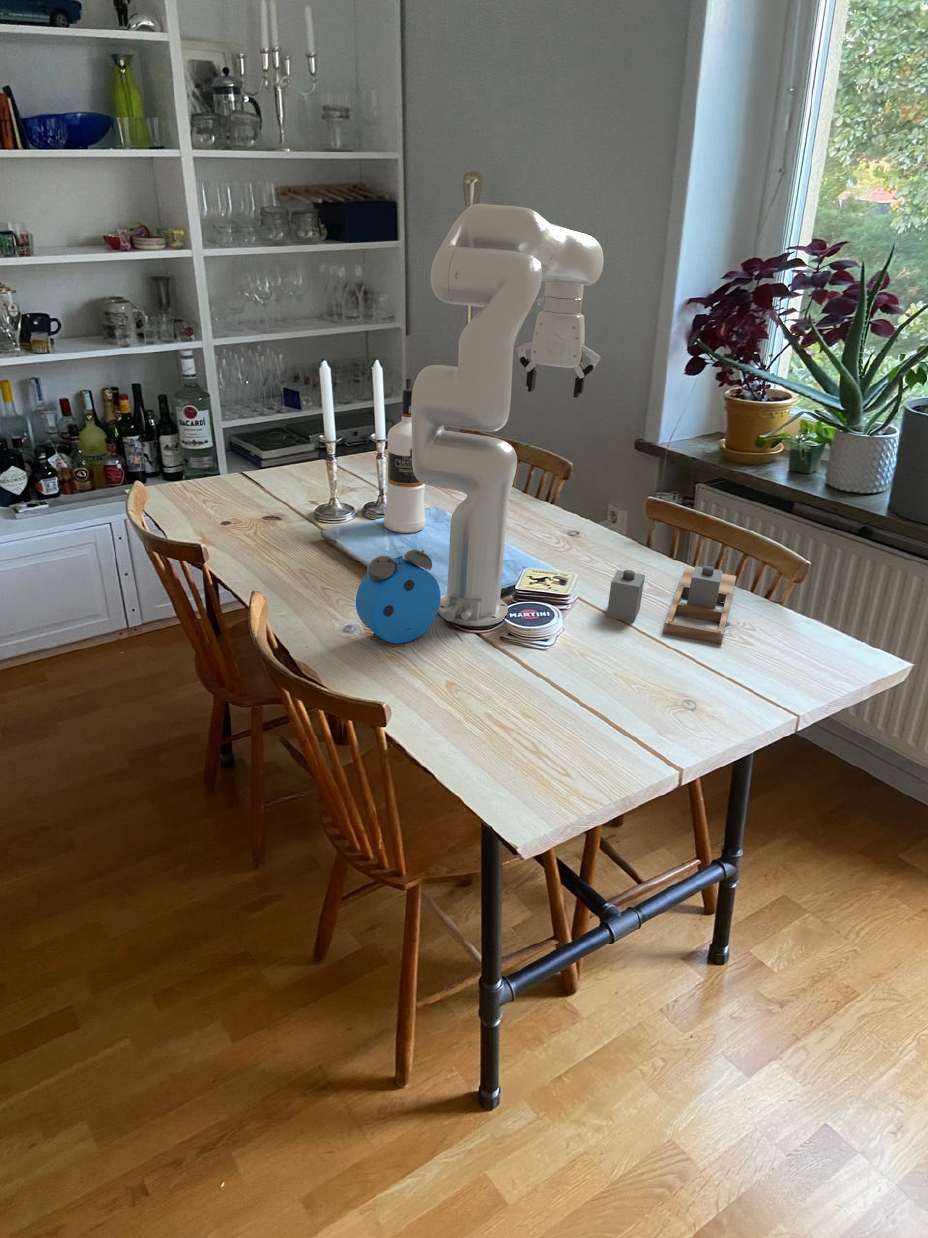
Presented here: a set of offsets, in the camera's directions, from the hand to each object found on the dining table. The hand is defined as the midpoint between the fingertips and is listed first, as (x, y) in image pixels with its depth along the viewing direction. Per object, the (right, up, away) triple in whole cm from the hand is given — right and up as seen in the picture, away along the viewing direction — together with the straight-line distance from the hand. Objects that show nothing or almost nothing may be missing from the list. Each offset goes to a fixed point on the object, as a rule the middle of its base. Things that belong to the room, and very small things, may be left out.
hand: (553, 393), depth 187 cm
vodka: (-32, -26, +13) cm, 43 cm away
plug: (+10, -45, -22) cm, 51 cm away
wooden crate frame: (+26, -44, -17) cm, 54 cm away
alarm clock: (-30, -50, -35) cm, 68 cm away
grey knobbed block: (+26, -44, -17) cm, 54 cm away
